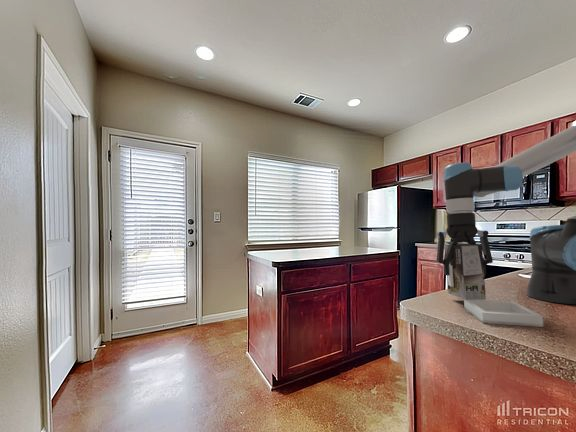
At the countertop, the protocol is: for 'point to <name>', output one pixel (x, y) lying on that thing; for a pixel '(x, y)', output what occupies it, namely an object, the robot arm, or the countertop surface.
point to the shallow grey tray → (503, 313)
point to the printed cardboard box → (467, 272)
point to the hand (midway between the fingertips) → (465, 285)
